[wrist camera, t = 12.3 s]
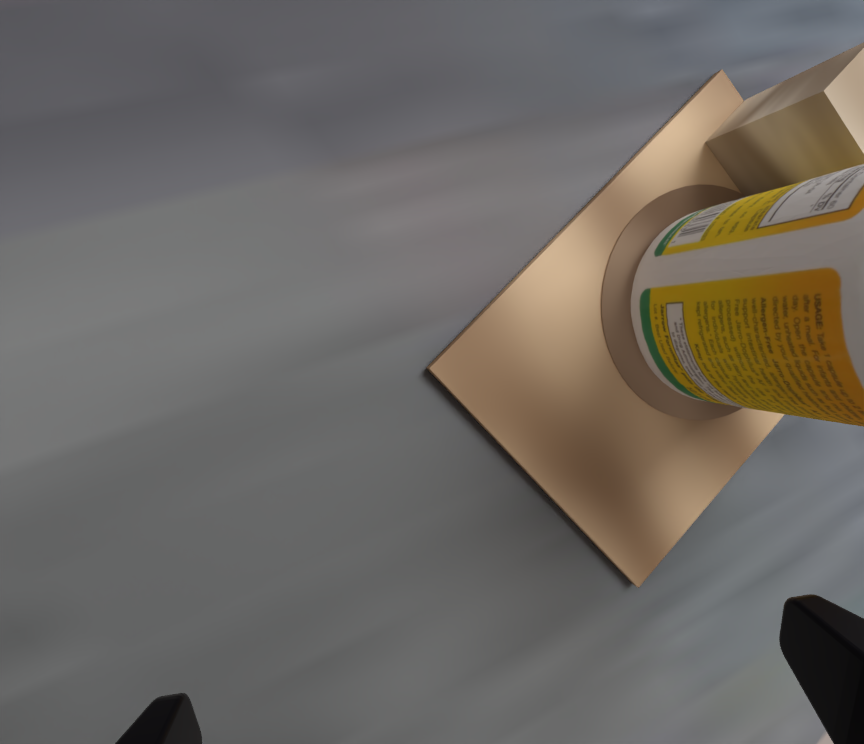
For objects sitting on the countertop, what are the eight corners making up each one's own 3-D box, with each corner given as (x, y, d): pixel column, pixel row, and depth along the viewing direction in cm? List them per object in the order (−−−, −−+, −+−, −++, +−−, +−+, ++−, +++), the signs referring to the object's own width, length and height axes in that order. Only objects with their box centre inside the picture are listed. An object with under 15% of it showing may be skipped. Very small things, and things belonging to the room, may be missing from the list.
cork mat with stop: (632, 583, 23) (736, 654, 18) (426, 367, 21) (480, 379, 15) (871, 300, 26) (1025, 292, 21) (716, 71, 23) (847, -4, 18)
